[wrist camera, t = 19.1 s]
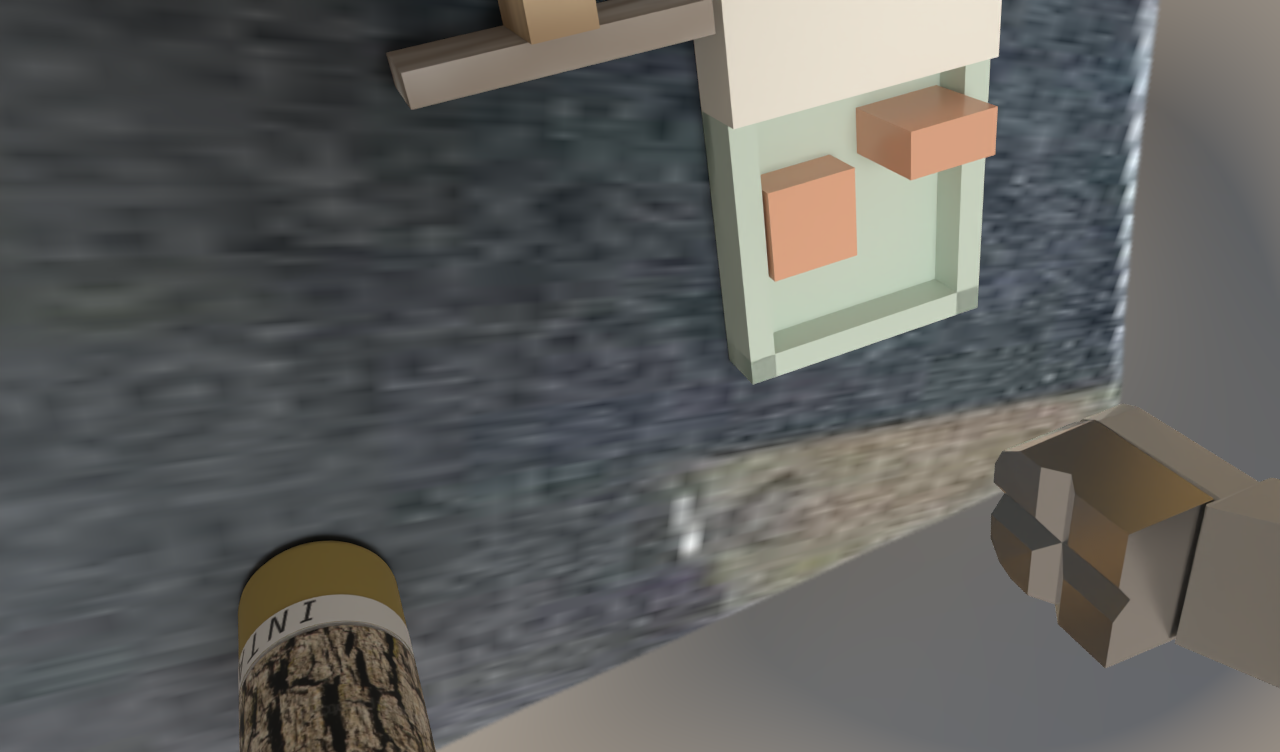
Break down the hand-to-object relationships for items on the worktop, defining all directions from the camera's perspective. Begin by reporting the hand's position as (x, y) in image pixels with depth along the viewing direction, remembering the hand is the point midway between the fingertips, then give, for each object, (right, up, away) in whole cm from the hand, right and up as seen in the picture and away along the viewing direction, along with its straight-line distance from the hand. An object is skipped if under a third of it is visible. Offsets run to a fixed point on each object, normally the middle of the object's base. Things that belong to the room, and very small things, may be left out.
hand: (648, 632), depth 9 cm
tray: (+9, +10, +34) cm, 36 cm away
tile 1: (+7, +9, +30) cm, 33 cm away
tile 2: (+12, +13, +30) cm, 35 cm away
